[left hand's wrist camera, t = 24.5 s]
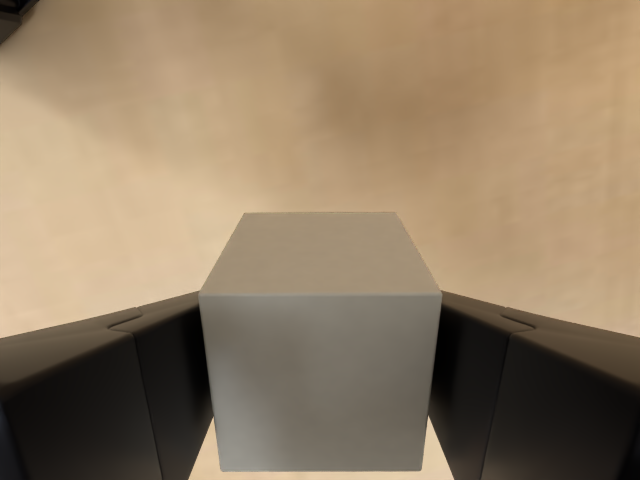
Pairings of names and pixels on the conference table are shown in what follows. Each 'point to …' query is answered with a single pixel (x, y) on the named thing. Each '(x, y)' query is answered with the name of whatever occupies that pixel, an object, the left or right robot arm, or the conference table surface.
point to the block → (320, 344)
